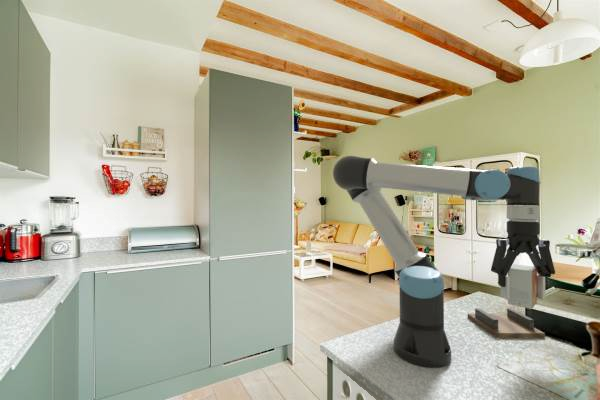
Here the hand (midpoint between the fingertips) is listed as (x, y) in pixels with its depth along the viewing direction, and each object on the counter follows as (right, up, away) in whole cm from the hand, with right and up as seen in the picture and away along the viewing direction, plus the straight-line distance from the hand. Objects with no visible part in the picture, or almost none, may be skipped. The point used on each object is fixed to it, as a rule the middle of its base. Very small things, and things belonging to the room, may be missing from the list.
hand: (522, 298), depth 82 cm
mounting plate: (+6, -15, +16) cm, 23 cm away
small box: (0, -2, 0) cm, 2 cm away
